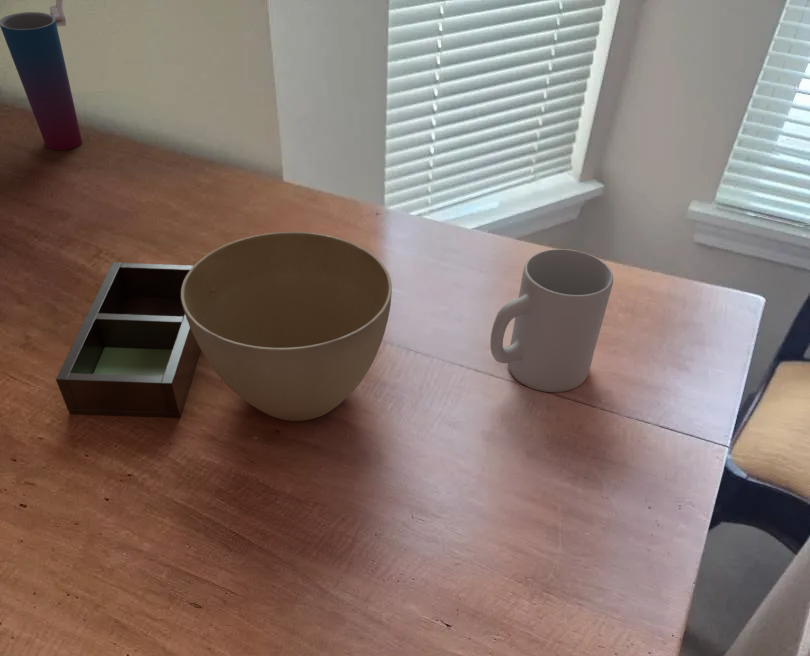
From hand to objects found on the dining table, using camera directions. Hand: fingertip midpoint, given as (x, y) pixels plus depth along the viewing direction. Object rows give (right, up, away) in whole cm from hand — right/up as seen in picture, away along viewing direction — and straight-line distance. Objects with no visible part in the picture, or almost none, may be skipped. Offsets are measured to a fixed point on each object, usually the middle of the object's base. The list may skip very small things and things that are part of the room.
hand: (24, 28), depth 101 cm
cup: (+2, -12, +7) cm, 14 cm away
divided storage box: (+25, -49, -23) cm, 60 cm away
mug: (+65, -51, -23) cm, 86 cm away
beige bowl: (+41, -55, -26) cm, 73 cm away
